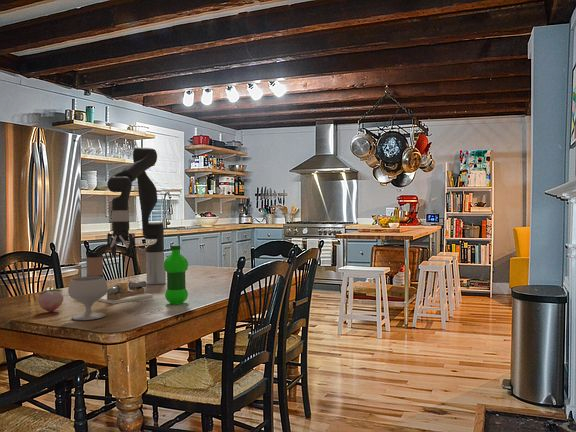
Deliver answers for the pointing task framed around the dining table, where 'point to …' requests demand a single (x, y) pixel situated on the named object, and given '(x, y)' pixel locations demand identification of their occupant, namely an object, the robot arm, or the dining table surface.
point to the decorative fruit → (50, 299)
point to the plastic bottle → (176, 276)
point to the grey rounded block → (114, 293)
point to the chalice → (87, 294)
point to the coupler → (123, 287)
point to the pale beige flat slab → (126, 297)
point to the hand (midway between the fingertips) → (121, 255)
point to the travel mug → (94, 263)
